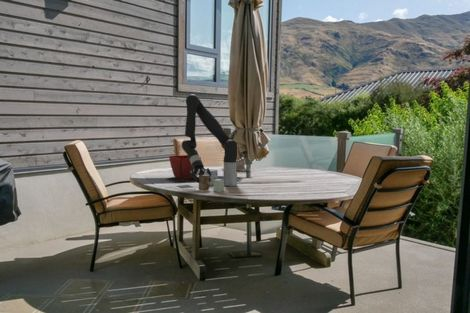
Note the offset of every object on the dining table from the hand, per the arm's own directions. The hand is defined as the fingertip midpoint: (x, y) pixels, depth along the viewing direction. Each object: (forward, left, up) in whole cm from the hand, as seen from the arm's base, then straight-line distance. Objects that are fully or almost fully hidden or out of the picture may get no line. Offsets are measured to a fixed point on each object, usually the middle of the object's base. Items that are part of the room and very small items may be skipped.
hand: (204, 181), depth 290 cm
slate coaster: (+6, -17, -6) cm, 19 cm away
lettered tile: (0, -1, -6) cm, 6 cm away
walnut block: (0, -1, -6) cm, 6 cm away
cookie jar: (-78, -79, -6) cm, 111 cm away
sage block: (-7, +7, -6) cm, 12 cm away
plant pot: (-13, -55, -6) cm, 57 cm away
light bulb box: (-15, -19, -6) cm, 25 cm away
